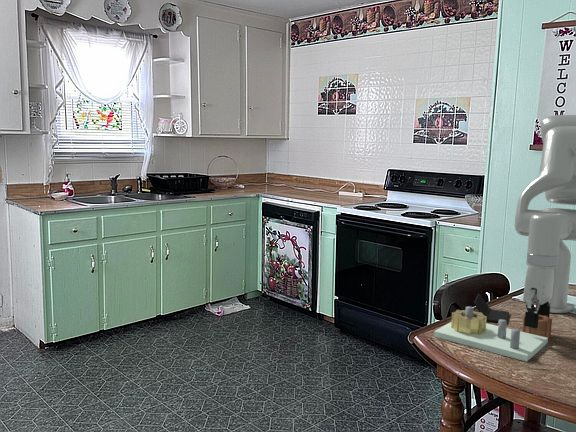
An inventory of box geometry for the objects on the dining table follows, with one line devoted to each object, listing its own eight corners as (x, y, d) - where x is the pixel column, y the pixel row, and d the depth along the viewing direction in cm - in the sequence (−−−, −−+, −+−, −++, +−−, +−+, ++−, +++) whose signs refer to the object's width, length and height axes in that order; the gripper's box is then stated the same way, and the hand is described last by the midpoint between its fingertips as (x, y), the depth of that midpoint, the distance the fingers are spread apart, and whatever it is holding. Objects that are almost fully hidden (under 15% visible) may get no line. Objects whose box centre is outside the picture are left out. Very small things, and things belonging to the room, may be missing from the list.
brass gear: (459, 321, 152) (460, 307, 152) (490, 328, 147) (491, 314, 146) (446, 329, 146) (447, 314, 145) (477, 337, 140) (478, 322, 140)
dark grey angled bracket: (514, 320, 154) (492, 290, 156) (492, 333, 156) (471, 304, 157) (510, 313, 165) (490, 286, 167) (489, 326, 166) (470, 298, 168)
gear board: (459, 321, 156) (461, 296, 155) (547, 343, 141) (549, 315, 140) (433, 336, 145) (435, 309, 144) (526, 361, 129) (529, 331, 128)
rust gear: (527, 329, 151) (528, 312, 150) (553, 335, 146) (554, 317, 146) (519, 335, 146) (520, 317, 145) (545, 342, 142) (547, 323, 141)
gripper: (537, 254, 152) (532, 313, 154) (516, 262, 139) (511, 326, 141) (566, 258, 147) (561, 319, 149) (547, 267, 134) (541, 333, 136)
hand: (537, 322), depth 145 cm, fingers open, 9 cm apart
